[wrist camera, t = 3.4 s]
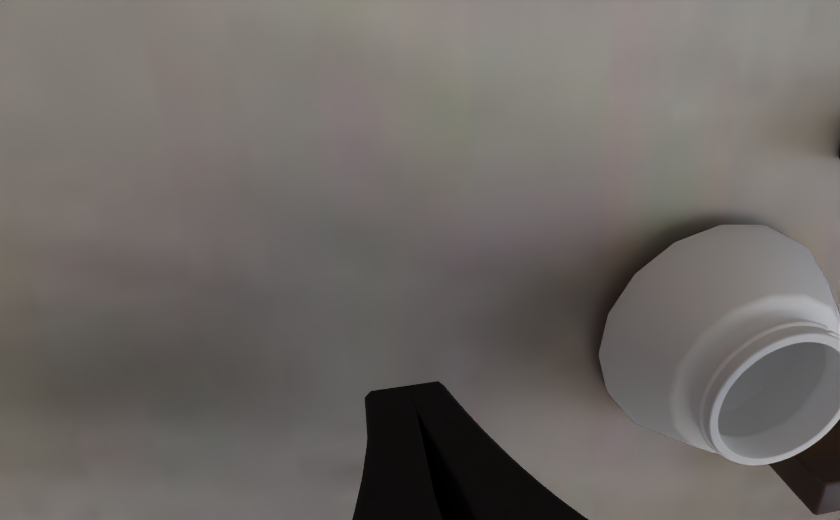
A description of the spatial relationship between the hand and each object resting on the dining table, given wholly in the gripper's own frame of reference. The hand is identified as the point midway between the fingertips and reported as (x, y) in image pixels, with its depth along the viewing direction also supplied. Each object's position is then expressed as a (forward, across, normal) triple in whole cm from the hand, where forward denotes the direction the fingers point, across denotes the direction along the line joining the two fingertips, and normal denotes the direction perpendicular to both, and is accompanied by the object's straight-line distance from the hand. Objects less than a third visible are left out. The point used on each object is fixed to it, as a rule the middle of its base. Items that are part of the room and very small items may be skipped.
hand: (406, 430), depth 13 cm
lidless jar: (+2, -7, 0) cm, 7 cm away
